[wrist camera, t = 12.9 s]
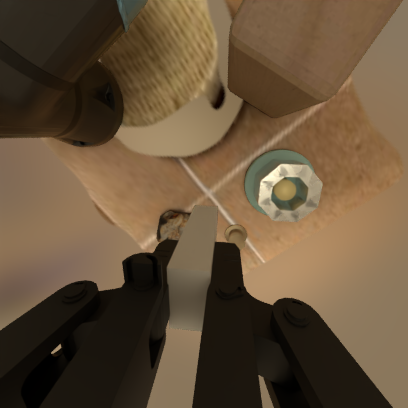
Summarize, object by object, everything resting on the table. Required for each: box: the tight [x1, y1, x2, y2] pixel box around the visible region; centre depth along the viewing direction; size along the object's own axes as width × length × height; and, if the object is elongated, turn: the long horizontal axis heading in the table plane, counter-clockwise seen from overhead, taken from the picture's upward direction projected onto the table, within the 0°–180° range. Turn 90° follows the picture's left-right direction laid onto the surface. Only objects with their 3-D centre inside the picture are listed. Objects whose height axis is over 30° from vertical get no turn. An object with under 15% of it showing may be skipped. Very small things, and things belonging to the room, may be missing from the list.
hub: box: [244, 149, 314, 215], centre depth 35 cm, size 12×12×6 cm
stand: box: [225, 225, 247, 250], centre depth 40 cm, size 4×4×4 cm
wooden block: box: [228, 0, 403, 118], centre depth 23 cm, size 10×10×20 cm
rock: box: [157, 211, 191, 242], centre depth 41 cm, size 9×6×10 cm
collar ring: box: [253, 159, 323, 222], centre depth 33 cm, size 9×9×6 cm
